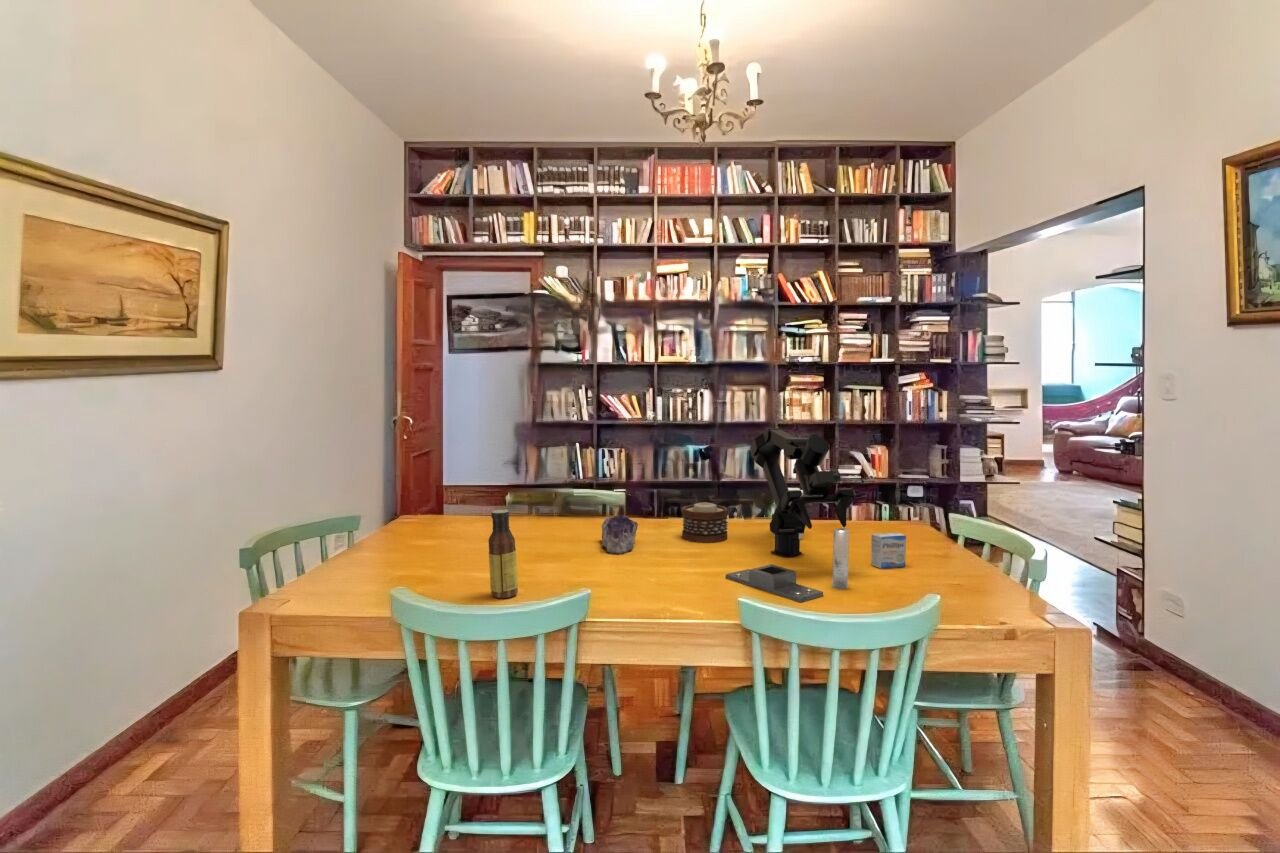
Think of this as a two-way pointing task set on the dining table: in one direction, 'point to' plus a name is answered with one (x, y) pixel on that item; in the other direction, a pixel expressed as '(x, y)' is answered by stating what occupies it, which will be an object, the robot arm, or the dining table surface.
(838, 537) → the pin
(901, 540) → the medicine box
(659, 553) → the dining table surface
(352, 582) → the dining table surface
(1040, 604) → the dining table surface
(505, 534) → the sauce bottle
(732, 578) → the grey socket base plate
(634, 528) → the geode
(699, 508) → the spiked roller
